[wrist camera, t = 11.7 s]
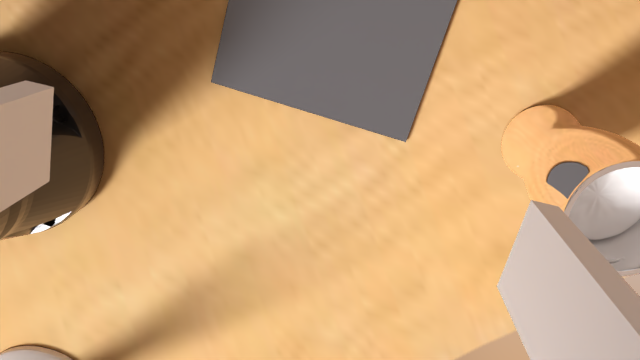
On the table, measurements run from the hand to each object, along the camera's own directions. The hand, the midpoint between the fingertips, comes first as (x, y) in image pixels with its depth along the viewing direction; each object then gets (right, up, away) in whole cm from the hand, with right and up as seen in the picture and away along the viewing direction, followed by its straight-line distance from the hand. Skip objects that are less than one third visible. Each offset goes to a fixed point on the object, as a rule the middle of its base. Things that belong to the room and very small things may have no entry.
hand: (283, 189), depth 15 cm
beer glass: (+18, +3, +27) cm, 33 cm away
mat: (+2, +13, +25) cm, 28 cm away
